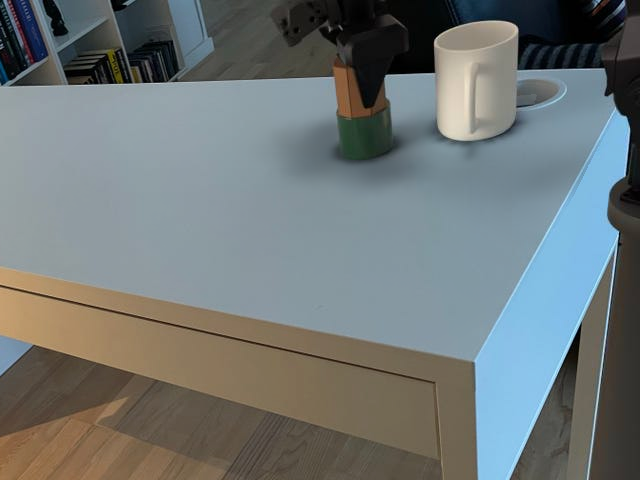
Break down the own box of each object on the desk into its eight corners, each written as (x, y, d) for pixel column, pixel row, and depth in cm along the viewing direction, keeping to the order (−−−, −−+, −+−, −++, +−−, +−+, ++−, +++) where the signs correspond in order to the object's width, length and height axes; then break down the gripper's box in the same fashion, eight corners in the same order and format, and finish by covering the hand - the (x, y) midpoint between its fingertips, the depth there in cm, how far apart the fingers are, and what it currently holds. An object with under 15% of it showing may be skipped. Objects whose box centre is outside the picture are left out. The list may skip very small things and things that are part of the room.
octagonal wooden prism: (396, 102, 86) (392, 52, 83) (361, 121, 85) (356, 71, 81) (362, 94, 90) (358, 46, 86) (329, 112, 88) (323, 64, 85)
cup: (517, 105, 89) (520, 15, 82) (512, 155, 81) (514, 59, 74) (441, 112, 92) (438, 26, 86) (429, 160, 84) (425, 69, 78)
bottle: (404, 142, 89) (400, 72, 84) (366, 164, 87) (359, 94, 82) (367, 131, 93) (361, 65, 88) (330, 152, 92) (321, 86, 87)
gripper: (256, -46, 86) (278, 89, 95) (284, -6, 71) (307, 150, 80) (355, -76, 84) (368, 65, 94) (405, -41, 69) (414, 122, 79)
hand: (362, 98), depth 87 cm, fingers closed on octagonal wooden prism, 5 cm apart
